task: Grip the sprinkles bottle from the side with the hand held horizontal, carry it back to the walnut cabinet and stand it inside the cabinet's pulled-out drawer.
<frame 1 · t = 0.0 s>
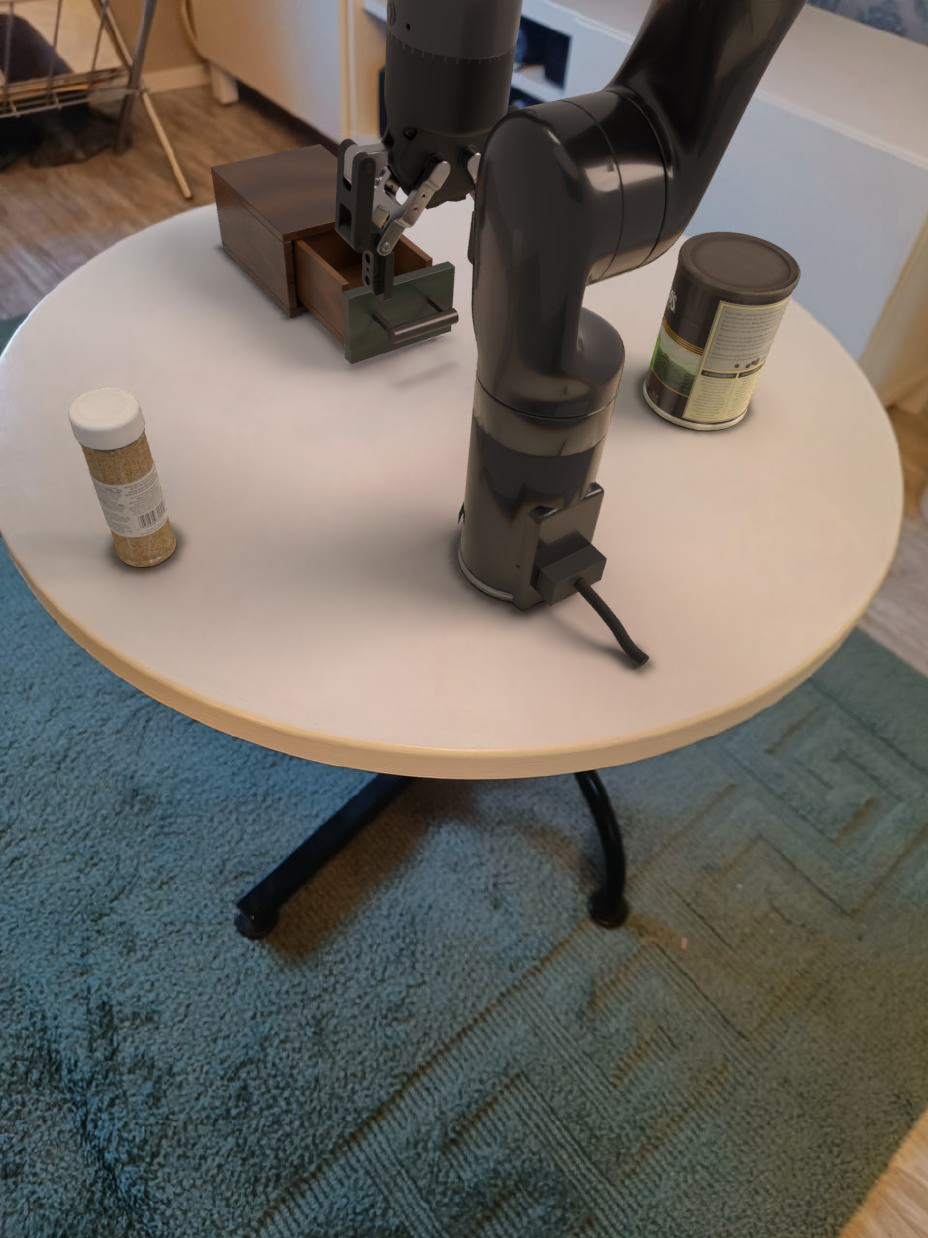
hand: (431, 279, 62), 17 cm above the table, tool pointing down, fingers open, 8 cm apart
drawer: (374, 289, 85), point 4 cm above the table, slide at 10.0 cm
sprinkles bottle: (147, 550, 67), on the table
coffee can: (694, 399, 84), on the table
cabinet: (308, 267, 95), on the table
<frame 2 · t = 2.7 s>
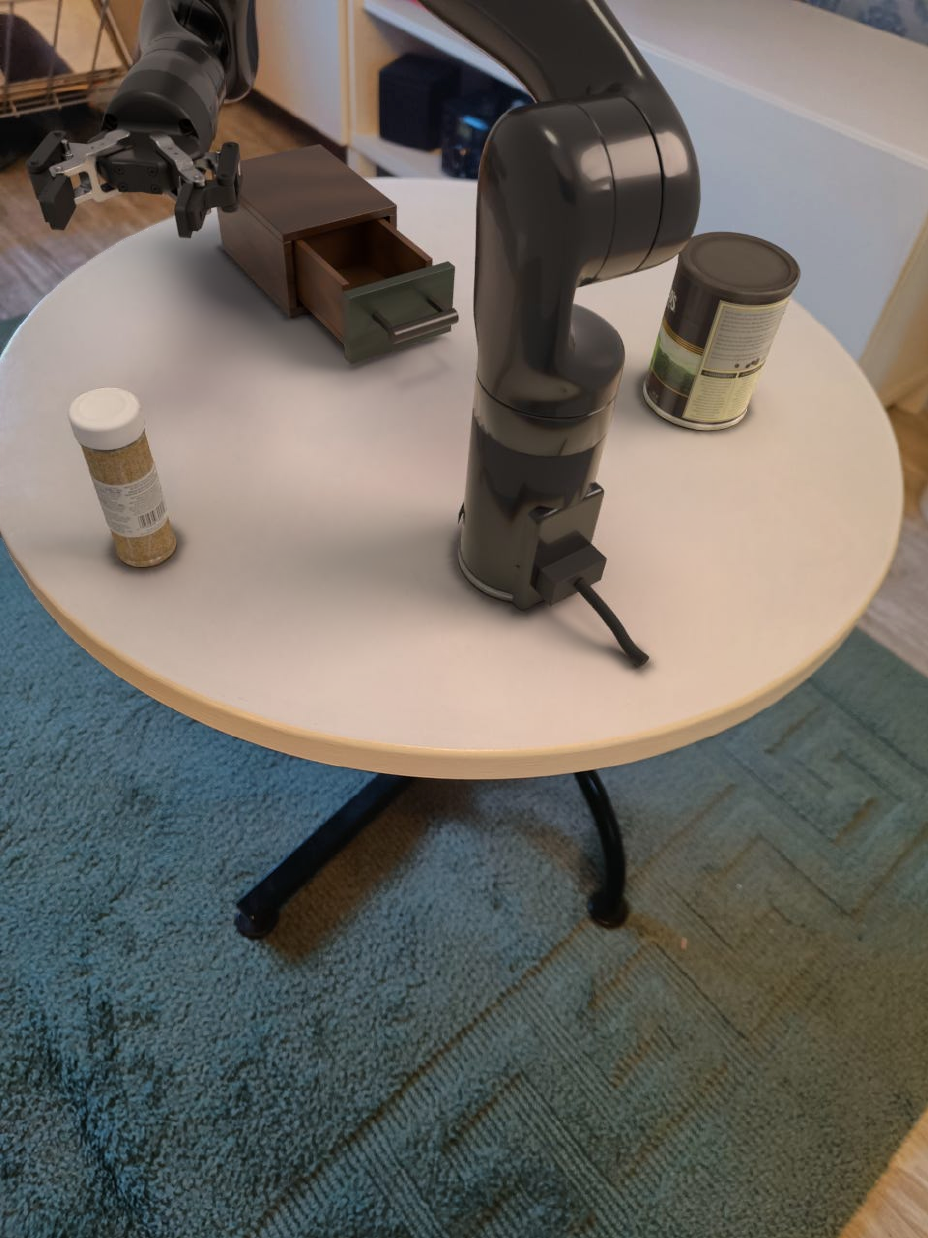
hand: (117, 221, 59), 20 cm above the table, tool horizontal, fingers open, 8 cm apart
nothing on the table moved.
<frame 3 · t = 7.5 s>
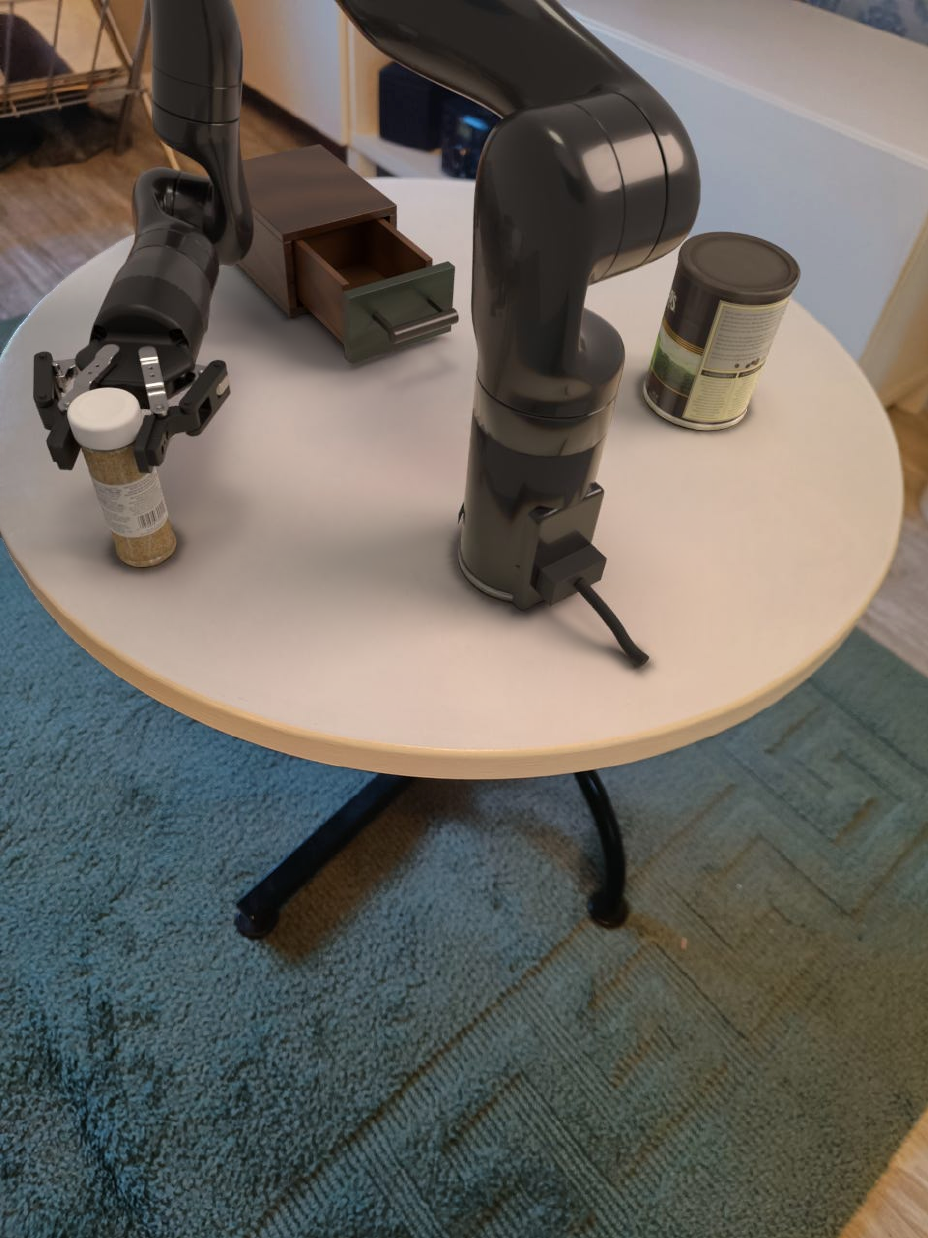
hand: (102, 461, 57), 11 cm above the table, tool horizontal, fingers closed on sprinkles bottle, 4 cm apart
sprinkles bottle: (147, 550, 67), on the table, touching gripper
everything else where it was.
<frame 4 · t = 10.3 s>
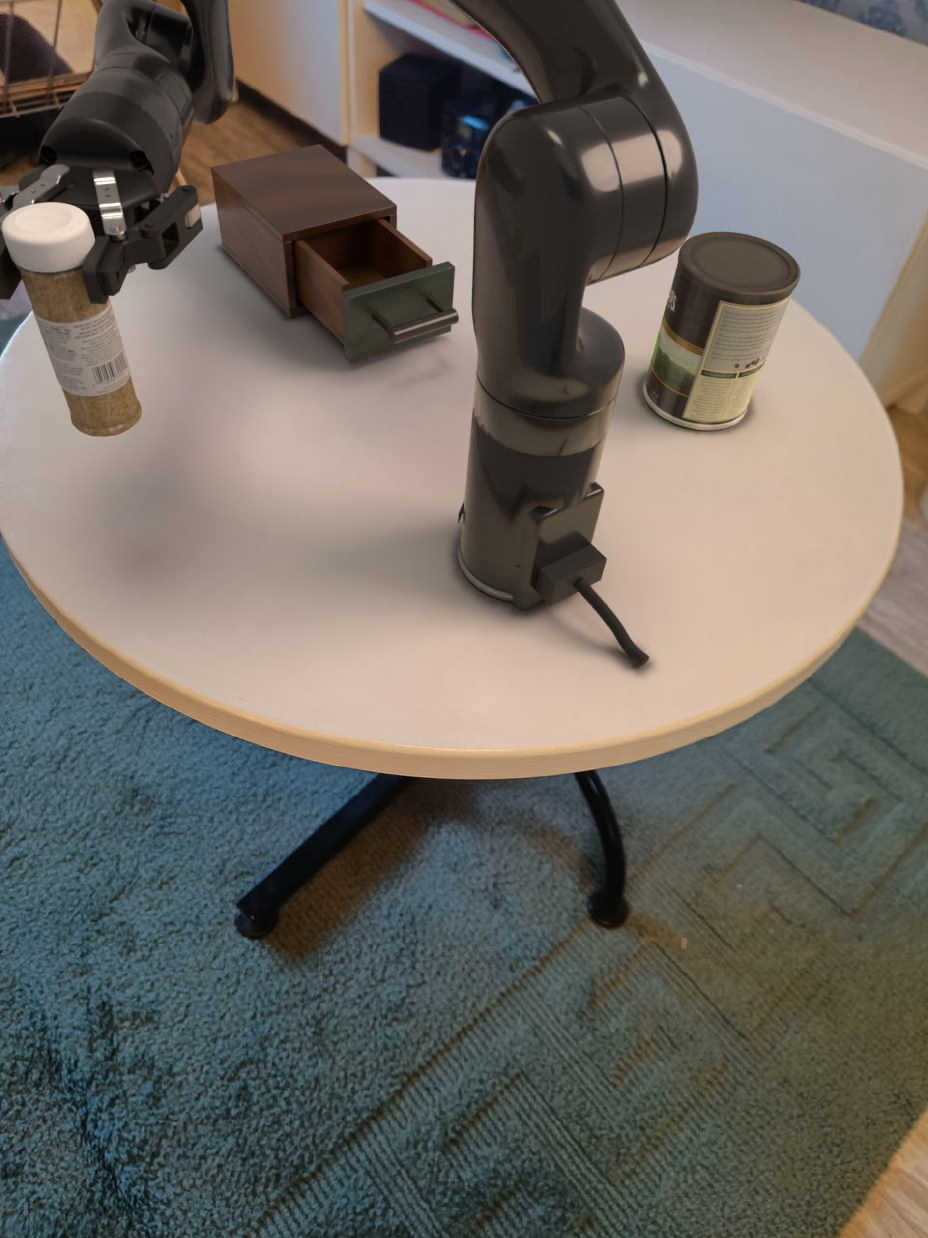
hand: (44, 286, 47), 23 cm above the table, tool horizontal, fingers closed on sprinkles bottle, 4 cm apart
sprinkles bottle: (108, 420, 58), point 12 cm above the table, touching gripper
everything else where it was.
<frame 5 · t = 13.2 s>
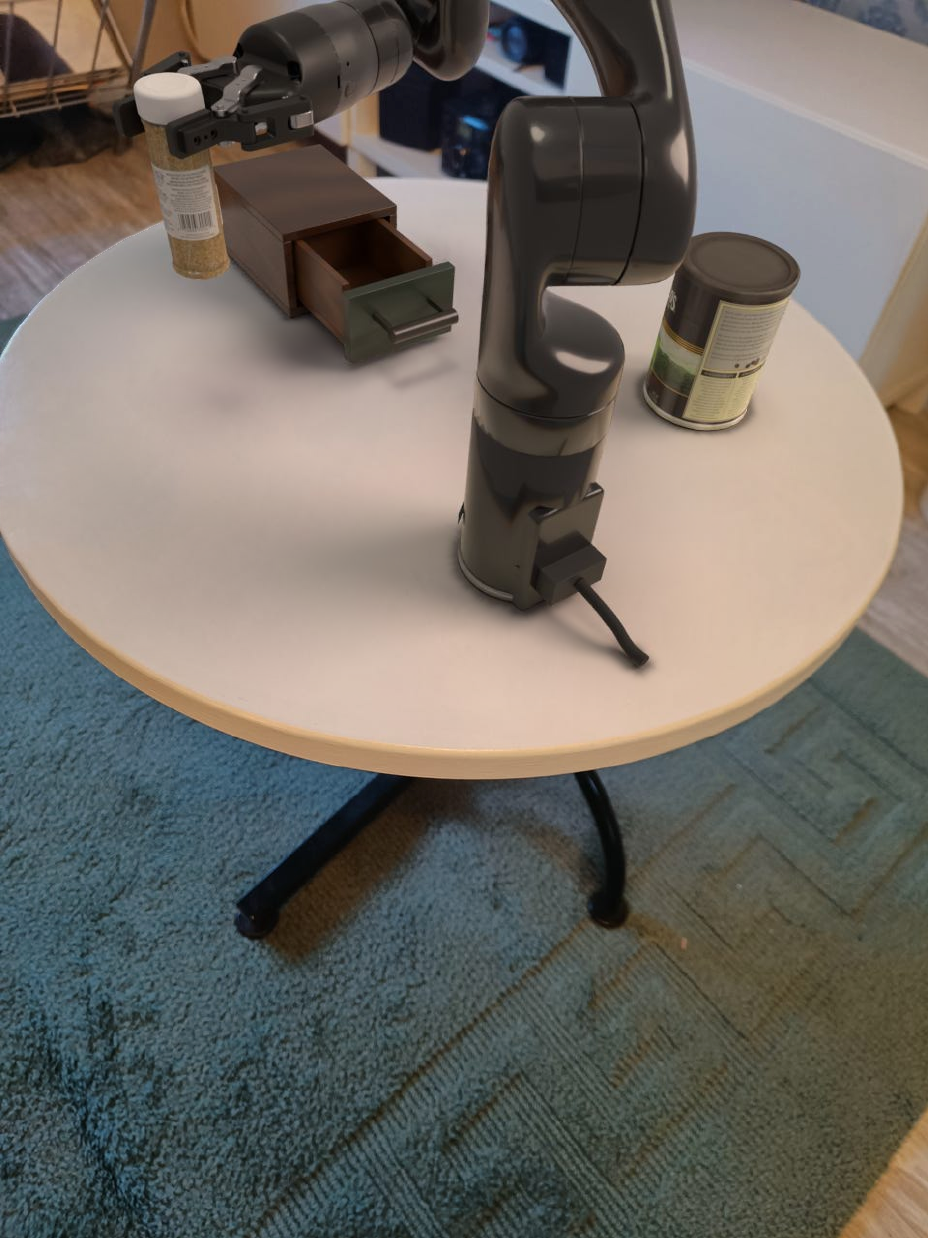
hand: (145, 131, 60), 24 cm above the table, tool horizontal, fingers closed on sprinkles bottle, 4 cm apart
sprinkles bottle: (202, 269, 70), point 12 cm above the table, touching gripper
everything else where it was.
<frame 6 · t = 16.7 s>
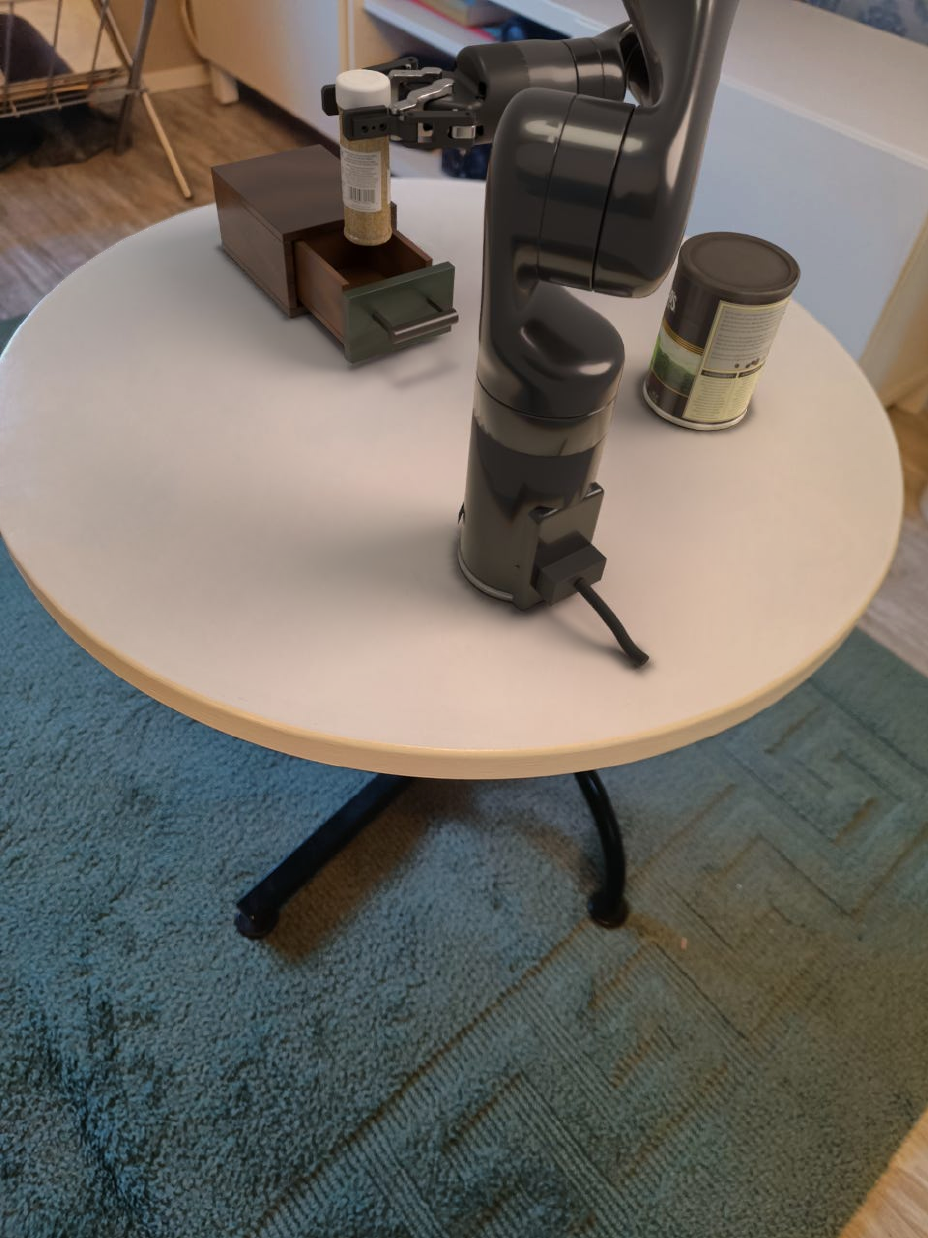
hand: (334, 113, 72), 20 cm above the table, tool horizontal, fingers closed on sprinkles bottle, 4 cm apart
sprinkles bottle: (367, 237, 82), point 9 cm above the table, touching gripper
everything else where it was.
when the fingers open (13 cm above the table, at t = 19.1 s): sprinkles bottle stays where it is, resting on drawer.
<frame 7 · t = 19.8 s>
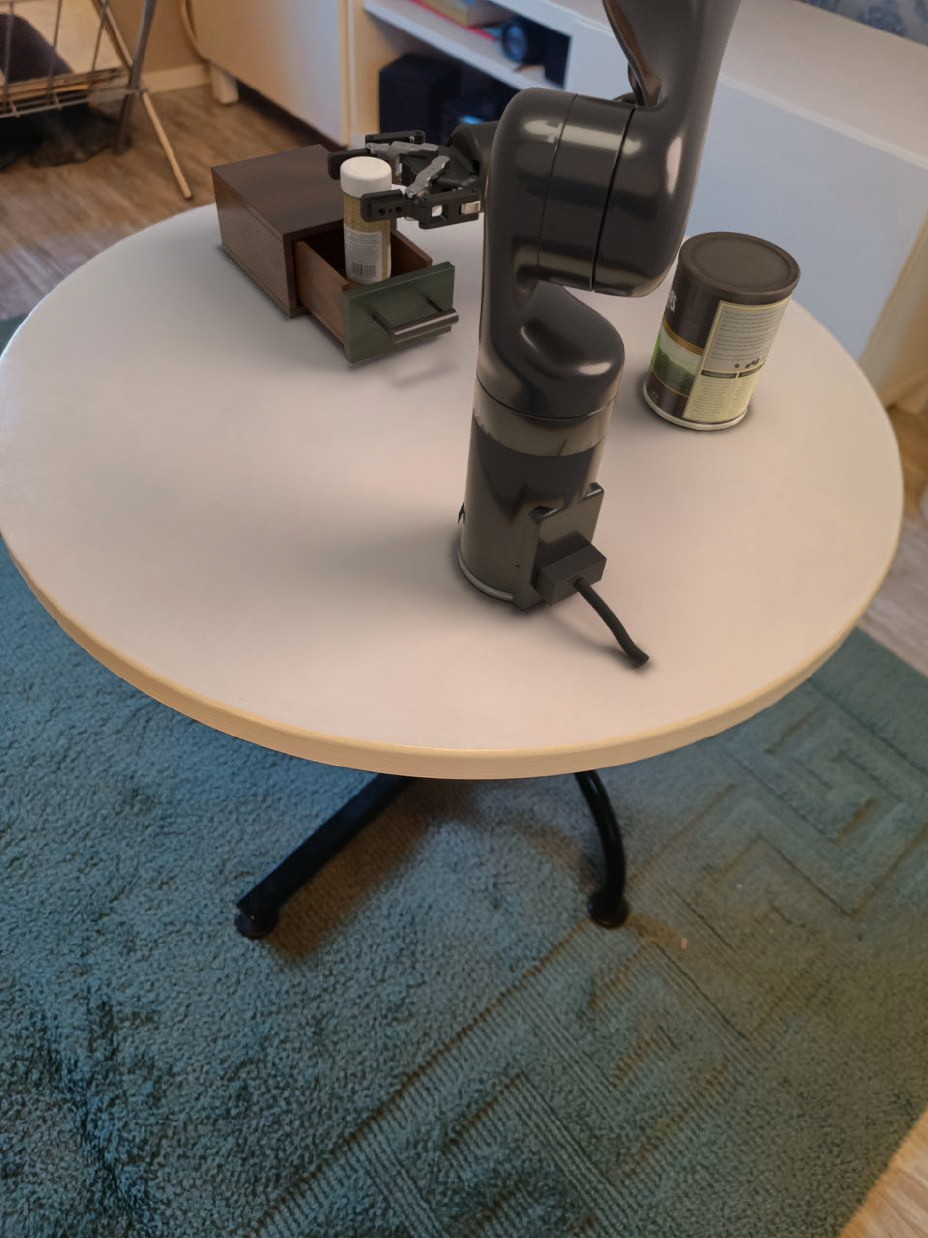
hand: (344, 187, 77), 14 cm above the table, tool horizontal, fingers open, 8 cm apart
drawer: (374, 289, 85), point 4 cm above the table, slide at 10.0 cm, touching sprinkles bottle
sprinkles bottle: (368, 305, 87), point 2 cm above the table, touching drawer
everything else where it was.
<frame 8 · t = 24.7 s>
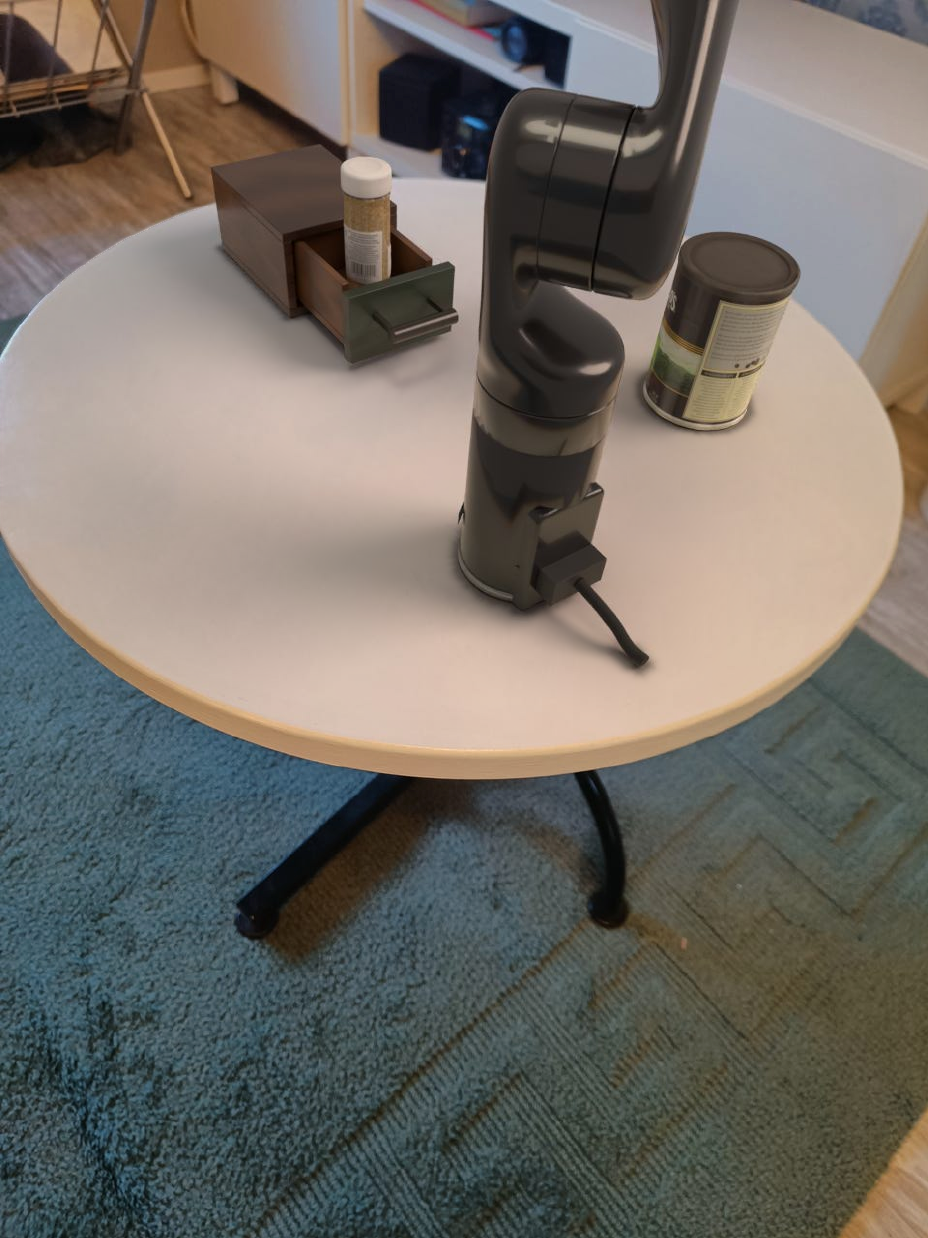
nothing on the table moved.
at the end: sprinkles bottle inside the target area in the drawer (0.2 cm from its centre), point 1.9 cm above the cabinet's base; sprinkles bottle tilted 0°; the gripper is holding nothing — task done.
